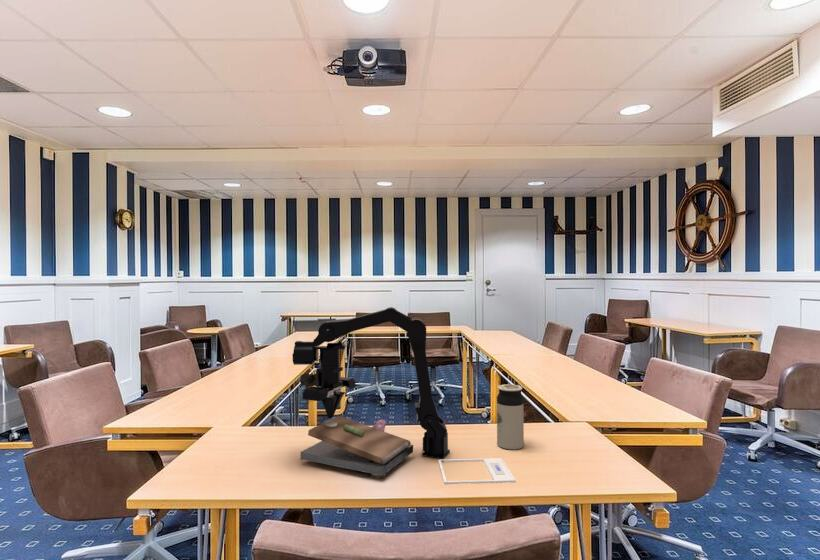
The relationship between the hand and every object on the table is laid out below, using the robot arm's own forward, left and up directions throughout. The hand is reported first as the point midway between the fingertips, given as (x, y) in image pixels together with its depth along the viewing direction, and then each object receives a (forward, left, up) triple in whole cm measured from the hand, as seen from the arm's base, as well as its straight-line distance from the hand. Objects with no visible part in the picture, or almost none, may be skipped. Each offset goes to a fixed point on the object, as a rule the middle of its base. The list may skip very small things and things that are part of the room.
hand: (330, 417), depth 134 cm
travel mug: (-45, -30, -11) cm, 56 cm away
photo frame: (-41, -7, -12) cm, 44 cm away
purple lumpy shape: (-5, -19, -11) cm, 22 cm away
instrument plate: (-10, 0, -5) cm, 11 cm away
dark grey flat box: (-9, 0, -11) cm, 14 cm away
